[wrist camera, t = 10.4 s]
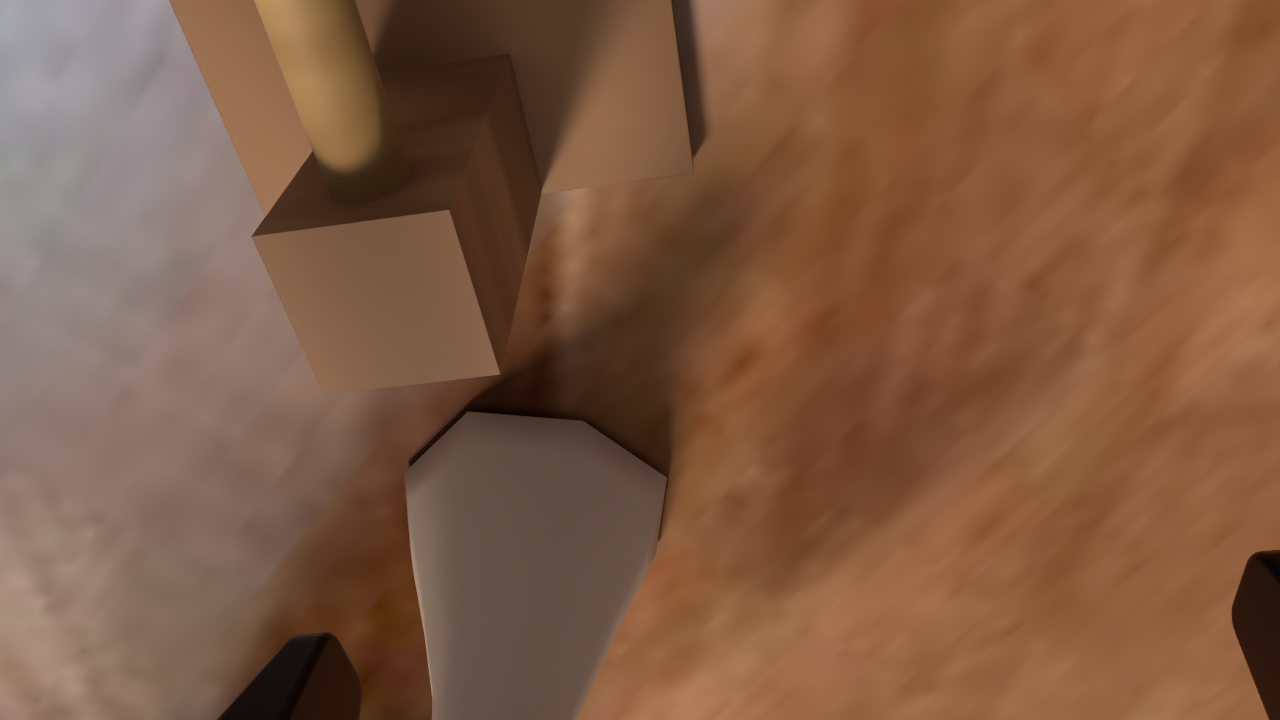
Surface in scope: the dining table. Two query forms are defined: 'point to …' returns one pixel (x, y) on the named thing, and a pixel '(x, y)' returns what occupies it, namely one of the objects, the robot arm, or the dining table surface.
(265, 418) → the dining table surface
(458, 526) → the flask
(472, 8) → the link stand
